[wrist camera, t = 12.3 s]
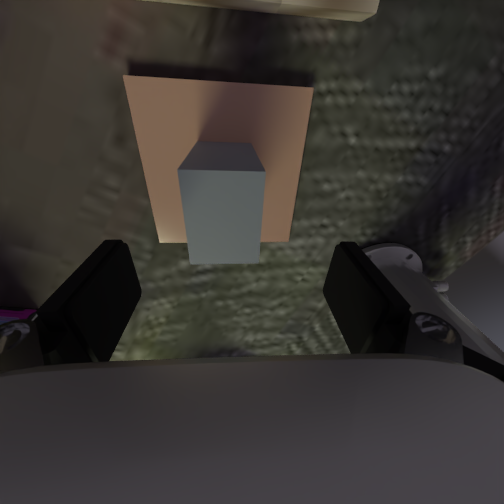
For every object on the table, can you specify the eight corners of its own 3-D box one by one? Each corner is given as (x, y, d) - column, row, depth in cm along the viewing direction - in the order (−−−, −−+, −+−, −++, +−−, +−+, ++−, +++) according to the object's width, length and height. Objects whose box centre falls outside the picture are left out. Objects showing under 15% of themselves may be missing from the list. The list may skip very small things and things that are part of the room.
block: (251, 142, 19) (265, 171, 12) (248, 208, 22) (258, 263, 15) (197, 141, 19) (177, 169, 11) (202, 208, 22) (190, 264, 15)
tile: (309, 88, 18) (313, 87, 17) (286, 237, 26) (288, 241, 25) (127, 76, 17) (122, 75, 16) (161, 237, 24) (159, 242, 24)
